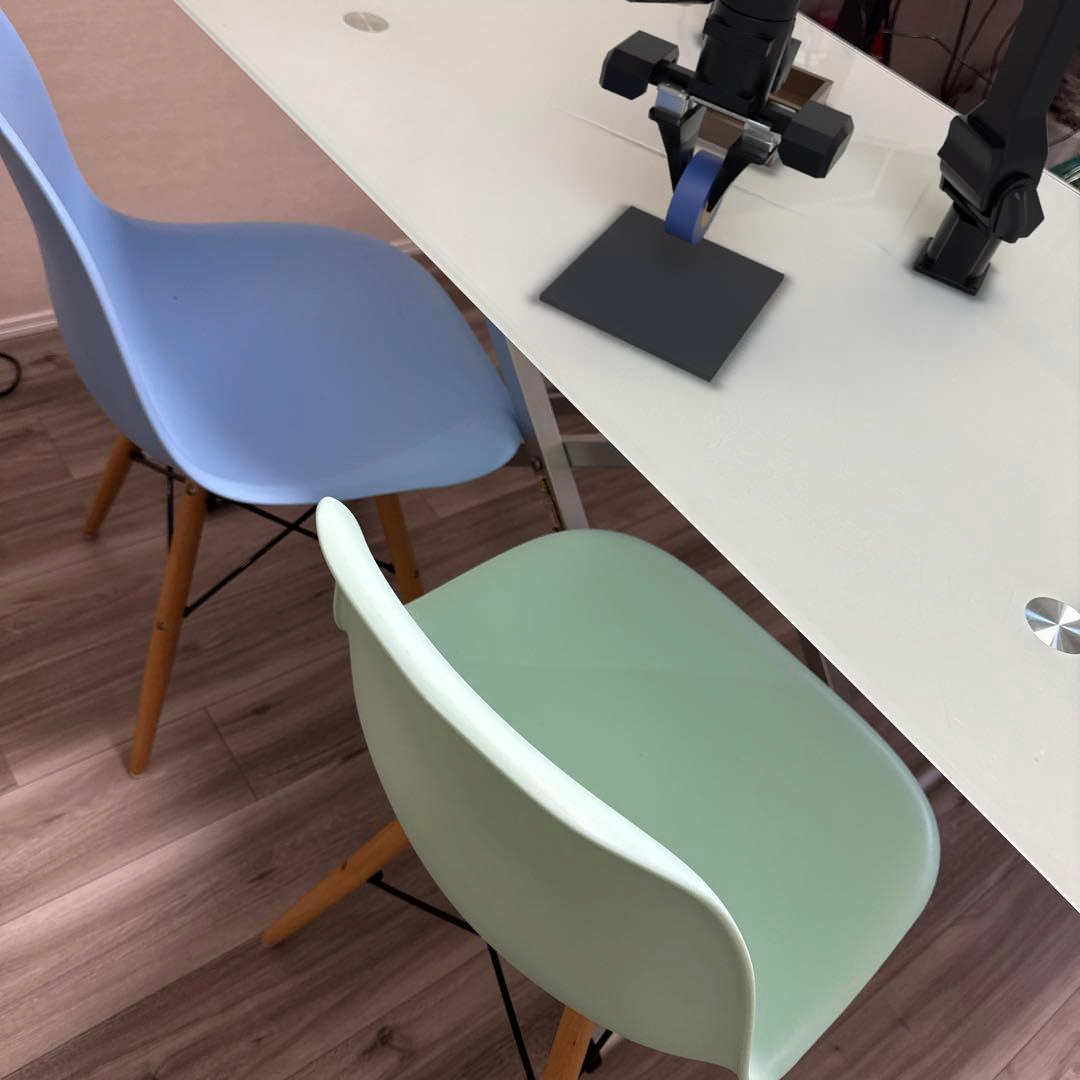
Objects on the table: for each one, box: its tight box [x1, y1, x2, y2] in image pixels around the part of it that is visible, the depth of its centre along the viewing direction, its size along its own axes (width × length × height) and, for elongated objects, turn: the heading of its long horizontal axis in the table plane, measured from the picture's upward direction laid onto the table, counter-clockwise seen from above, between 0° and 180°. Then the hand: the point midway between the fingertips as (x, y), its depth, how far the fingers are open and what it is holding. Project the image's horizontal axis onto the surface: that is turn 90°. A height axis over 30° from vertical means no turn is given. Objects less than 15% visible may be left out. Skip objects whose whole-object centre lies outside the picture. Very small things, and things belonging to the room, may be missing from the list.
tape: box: [664, 148, 725, 245], centre depth 80 cm, size 7×3×7 cm, turn 151°
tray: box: [697, 64, 835, 168], centre depth 108 cm, size 19×10×3 cm, turn 151°
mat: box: [539, 205, 786, 383], centre depth 86 cm, size 18×16×1 cm
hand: (694, 203), depth 80 cm, fingers closed on tape, 2 cm apart
